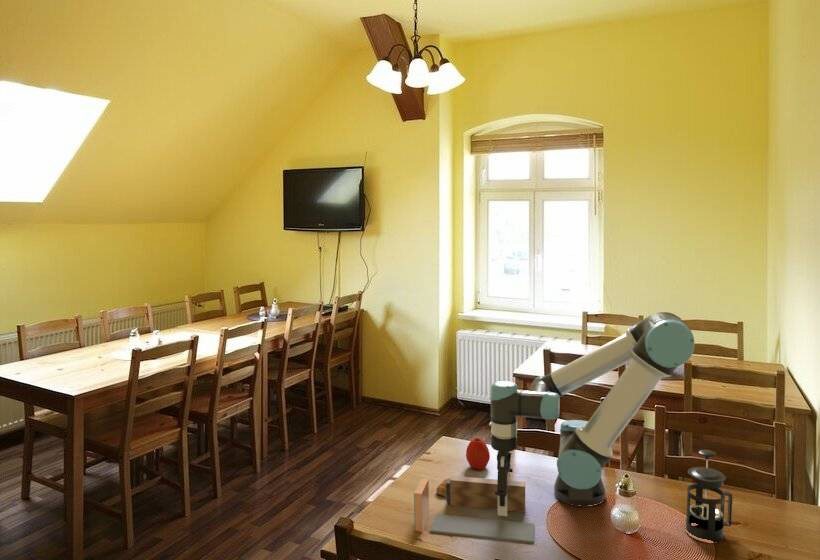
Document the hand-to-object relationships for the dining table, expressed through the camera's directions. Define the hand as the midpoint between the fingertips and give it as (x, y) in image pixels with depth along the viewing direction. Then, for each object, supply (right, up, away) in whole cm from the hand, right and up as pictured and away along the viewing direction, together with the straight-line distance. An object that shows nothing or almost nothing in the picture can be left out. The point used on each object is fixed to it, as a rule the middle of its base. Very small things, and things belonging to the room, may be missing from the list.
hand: (504, 504), depth 173 cm
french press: (+52, -2, -16) cm, 54 cm away
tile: (-24, -2, -7) cm, 26 cm away
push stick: (-5, -1, +1) cm, 5 cm away
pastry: (-15, -1, +12) cm, 19 cm away
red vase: (-5, +2, +28) cm, 28 cm away
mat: (-8, -3, -11) cm, 14 cm away
